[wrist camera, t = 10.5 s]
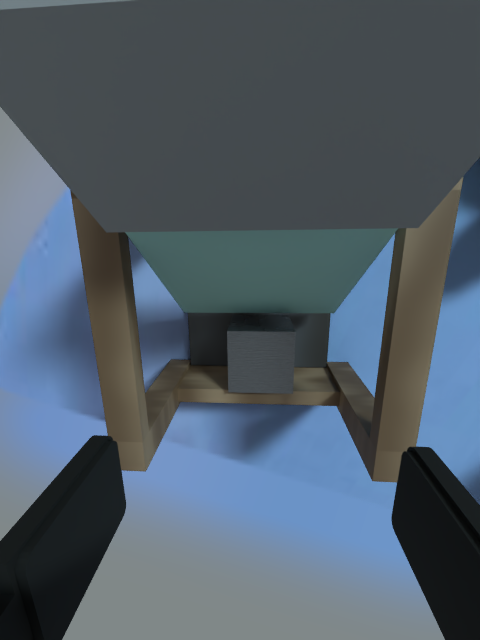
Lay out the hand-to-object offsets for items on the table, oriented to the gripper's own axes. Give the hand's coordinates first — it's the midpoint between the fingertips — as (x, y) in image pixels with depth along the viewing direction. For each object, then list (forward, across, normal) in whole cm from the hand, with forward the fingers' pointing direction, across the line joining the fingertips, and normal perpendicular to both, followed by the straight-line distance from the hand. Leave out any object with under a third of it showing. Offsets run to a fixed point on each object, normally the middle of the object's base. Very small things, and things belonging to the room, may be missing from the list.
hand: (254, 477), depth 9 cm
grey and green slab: (+8, 0, -9) cm, 12 cm away
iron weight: (+15, 0, -1) cm, 15 cm away
